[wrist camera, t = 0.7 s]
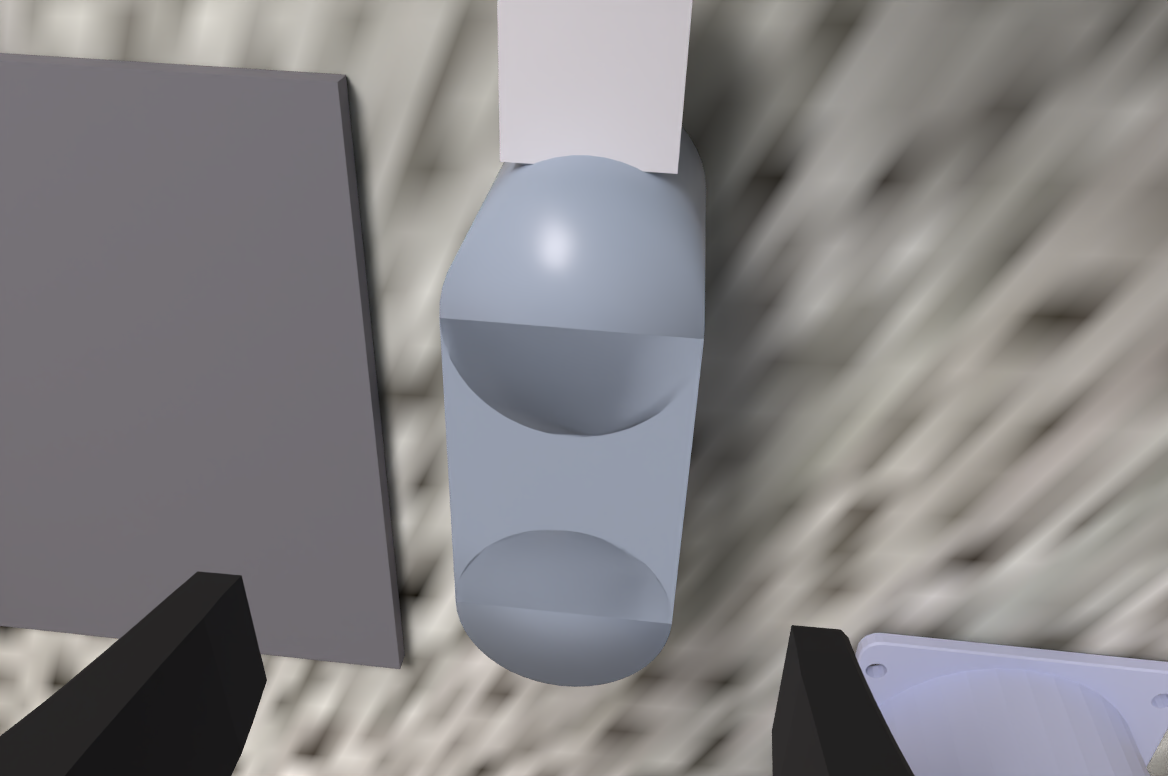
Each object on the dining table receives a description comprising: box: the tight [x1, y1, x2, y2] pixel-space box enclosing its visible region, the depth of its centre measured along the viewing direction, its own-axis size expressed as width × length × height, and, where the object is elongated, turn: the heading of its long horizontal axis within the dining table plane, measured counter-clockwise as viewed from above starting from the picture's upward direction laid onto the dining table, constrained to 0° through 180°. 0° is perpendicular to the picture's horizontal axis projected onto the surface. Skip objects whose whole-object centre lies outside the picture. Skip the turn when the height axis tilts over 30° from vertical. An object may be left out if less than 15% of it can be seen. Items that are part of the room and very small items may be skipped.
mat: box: [0, 53, 405, 669], centre depth 23 cm, size 16×12×1 cm
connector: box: [440, 0, 706, 687], centre depth 18 cm, size 13×4×6 cm, turn 178°
